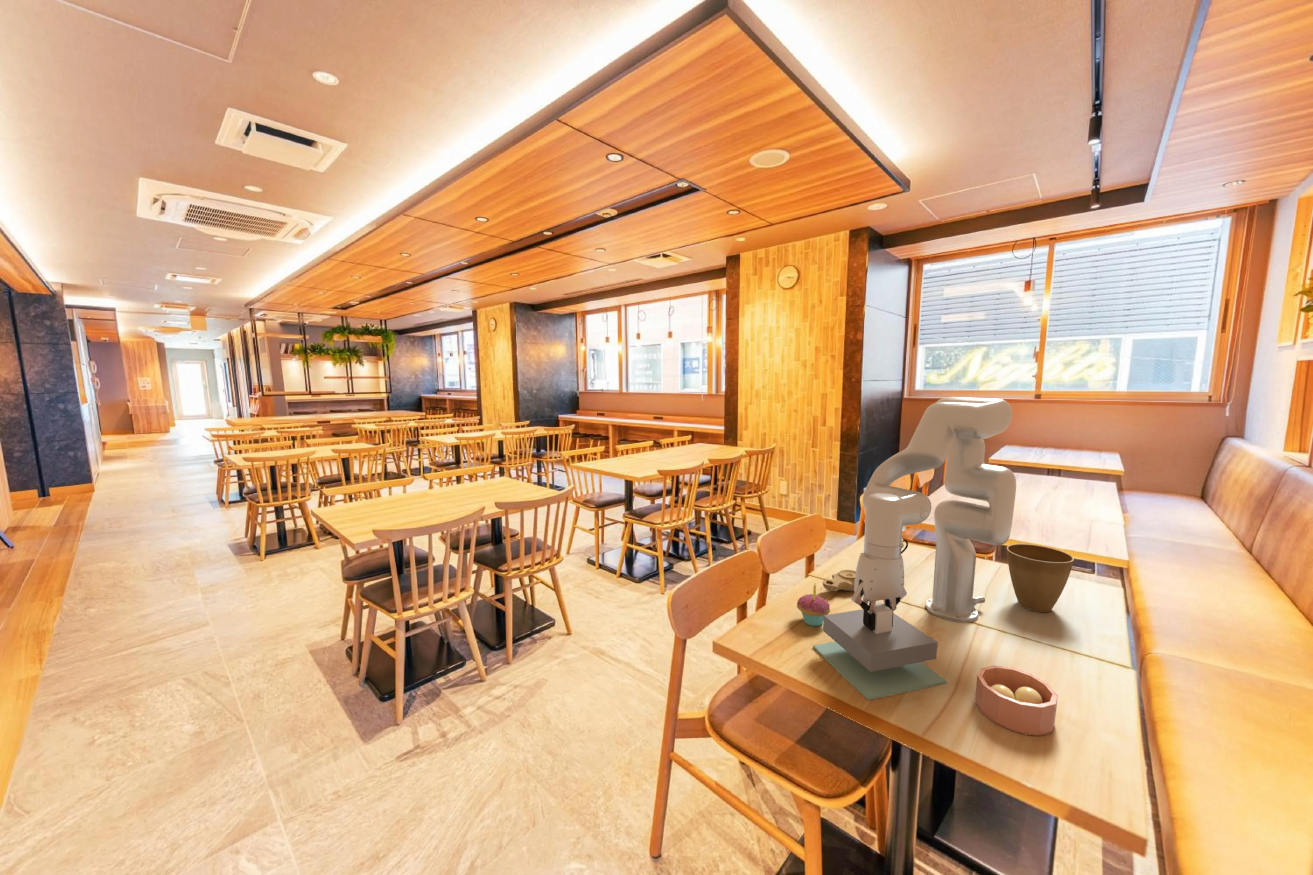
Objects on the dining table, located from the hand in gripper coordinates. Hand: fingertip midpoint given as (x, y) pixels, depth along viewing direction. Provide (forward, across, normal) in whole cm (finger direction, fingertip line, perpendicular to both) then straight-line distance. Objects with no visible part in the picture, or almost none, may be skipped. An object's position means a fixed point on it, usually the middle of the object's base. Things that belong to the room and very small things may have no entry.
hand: (877, 625), depth 111 cm
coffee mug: (+10, -44, -46) cm, 65 cm away
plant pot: (+9, -62, -11) cm, 64 cm away
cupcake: (+10, +3, -21) cm, 23 cm away
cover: (+5, 0, 0) cm, 5 cm away
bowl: (+10, -15, +21) cm, 28 cm away
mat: (+10, 0, 0) cm, 10 cm away
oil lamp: (+10, -17, -35) cm, 40 cm away
